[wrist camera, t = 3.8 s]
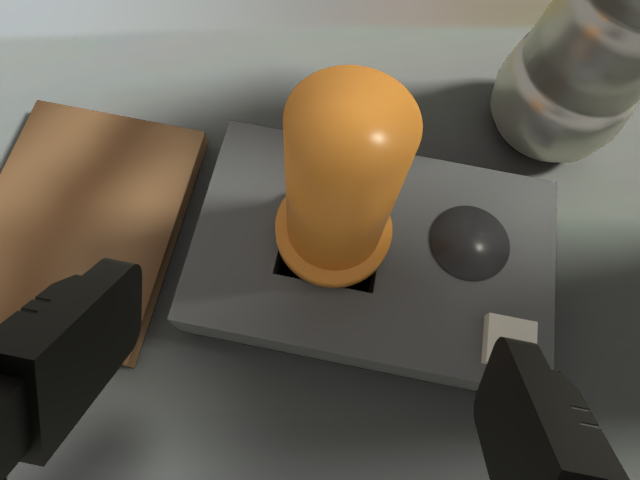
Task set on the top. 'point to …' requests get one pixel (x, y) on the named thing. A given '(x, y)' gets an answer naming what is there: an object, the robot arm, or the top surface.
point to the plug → (344, 172)
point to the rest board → (92, 201)
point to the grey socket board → (391, 276)
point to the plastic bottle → (570, 80)
